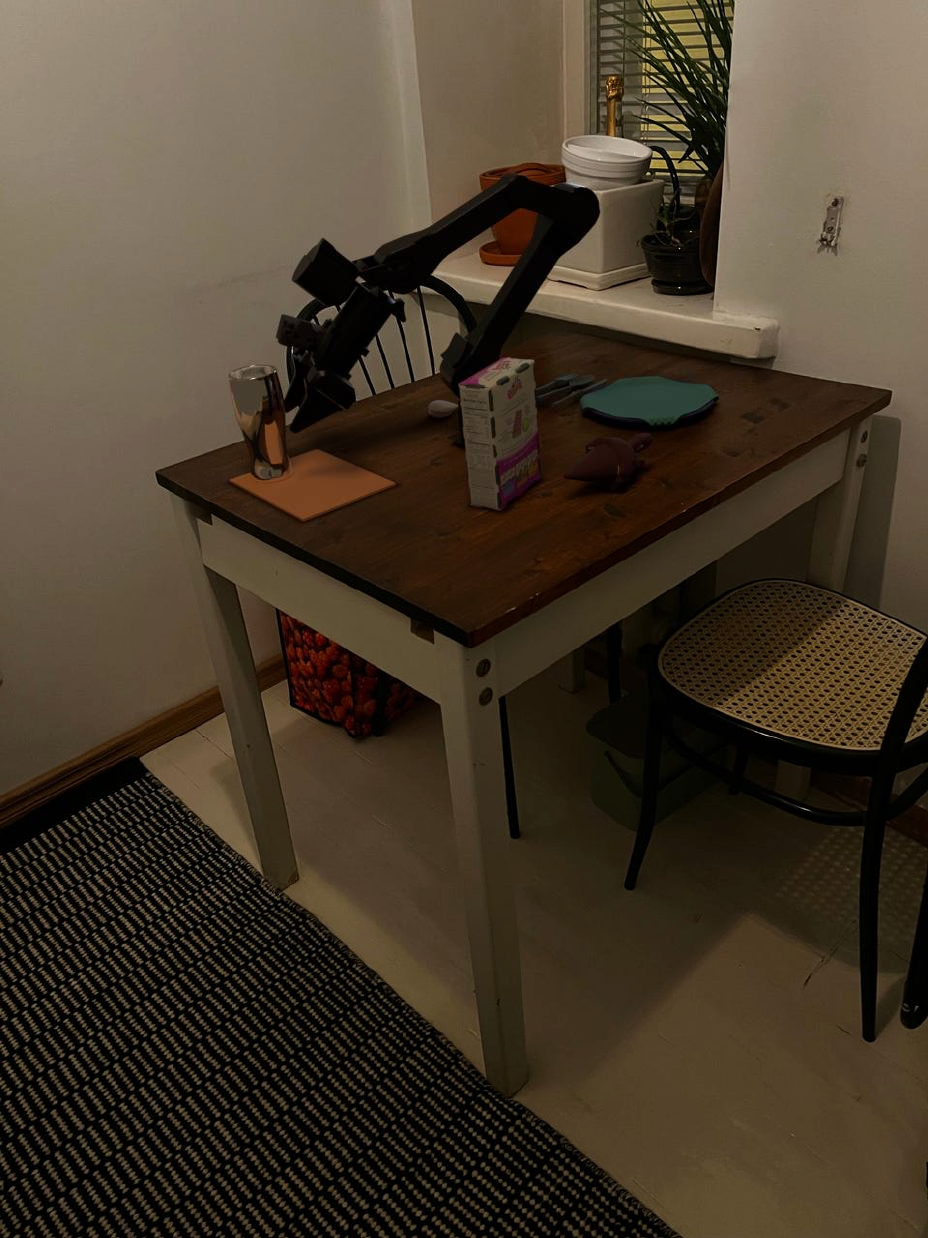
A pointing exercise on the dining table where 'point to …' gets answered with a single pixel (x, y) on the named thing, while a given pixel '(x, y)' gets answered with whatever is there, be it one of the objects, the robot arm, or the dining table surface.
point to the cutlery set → (637, 398)
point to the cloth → (316, 485)
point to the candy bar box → (500, 432)
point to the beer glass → (262, 420)
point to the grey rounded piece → (441, 408)
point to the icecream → (610, 461)
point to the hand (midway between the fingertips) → (287, 421)
